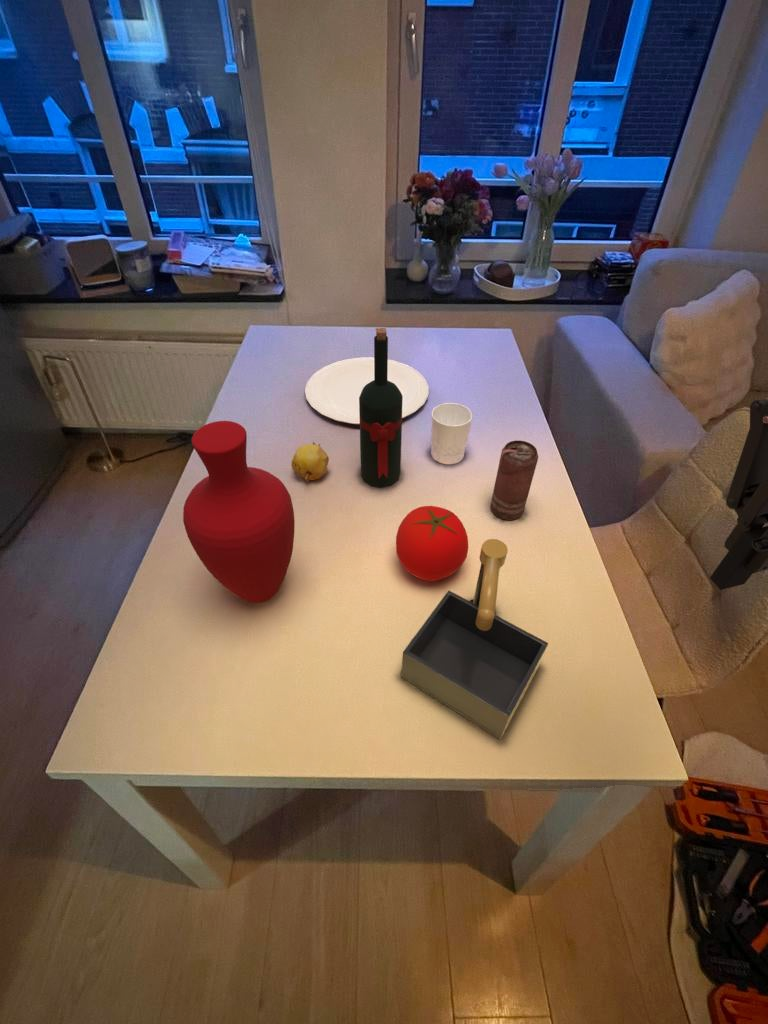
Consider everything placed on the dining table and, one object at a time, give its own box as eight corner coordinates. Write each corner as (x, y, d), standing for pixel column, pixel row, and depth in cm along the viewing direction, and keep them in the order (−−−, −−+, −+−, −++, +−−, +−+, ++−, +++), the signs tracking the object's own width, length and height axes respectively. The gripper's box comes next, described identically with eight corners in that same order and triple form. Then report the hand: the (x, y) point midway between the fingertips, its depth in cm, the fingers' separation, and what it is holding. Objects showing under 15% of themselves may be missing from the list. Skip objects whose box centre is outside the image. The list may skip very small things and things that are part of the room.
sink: (500, 740, 67) (509, 717, 63) (401, 677, 73) (402, 652, 69) (537, 668, 74) (548, 642, 70) (444, 616, 81) (448, 590, 76)
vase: (192, 605, 82) (126, 453, 61) (247, 541, 91) (207, 391, 70) (272, 640, 77) (233, 489, 56) (321, 568, 87) (303, 417, 66)
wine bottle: (362, 496, 99) (357, 350, 78) (360, 462, 107) (355, 320, 86) (403, 494, 100) (410, 348, 79) (398, 460, 107) (403, 318, 86)
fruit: (324, 470, 96) (336, 437, 103) (287, 459, 95) (301, 427, 102) (318, 495, 101) (329, 462, 108) (283, 485, 100) (297, 452, 107)
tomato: (469, 591, 84) (477, 548, 77) (396, 592, 84) (397, 548, 76) (460, 536, 92) (467, 492, 85) (394, 536, 92) (395, 493, 85)
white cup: (431, 467, 106) (435, 426, 99) (425, 443, 111) (428, 403, 104) (469, 465, 106) (476, 424, 99) (462, 442, 112) (467, 401, 105)
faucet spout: (480, 552, 74) (483, 536, 71) (504, 556, 73) (508, 541, 71) (469, 628, 65) (472, 613, 62) (496, 633, 64) (501, 618, 62)
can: (483, 502, 99) (494, 442, 89) (513, 495, 100) (528, 436, 90) (497, 524, 95) (511, 464, 85) (529, 517, 96) (546, 457, 86)
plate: (344, 353, 139) (344, 346, 137) (447, 380, 129) (447, 373, 128) (281, 409, 120) (279, 402, 119) (395, 444, 111) (395, 437, 110)
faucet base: (486, 633, 78) (500, 580, 69) (457, 618, 80) (467, 564, 71) (500, 611, 81) (515, 557, 72) (472, 597, 83) (483, 542, 74)
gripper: (1058, 399, 30) (814, 629, 46) (855, 304, 39) (712, 526, 55) (958, 418, 28) (744, 648, 45) (772, 316, 37) (650, 539, 54)
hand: (726, 580), depth 50 cm, fingers closed
